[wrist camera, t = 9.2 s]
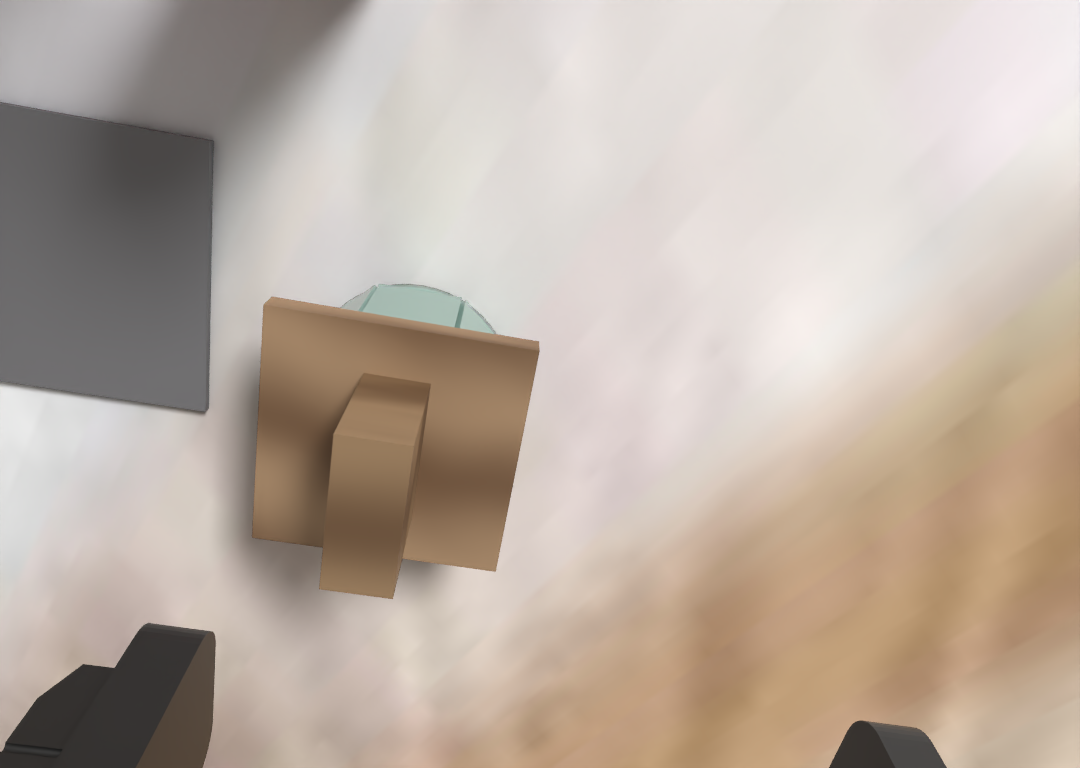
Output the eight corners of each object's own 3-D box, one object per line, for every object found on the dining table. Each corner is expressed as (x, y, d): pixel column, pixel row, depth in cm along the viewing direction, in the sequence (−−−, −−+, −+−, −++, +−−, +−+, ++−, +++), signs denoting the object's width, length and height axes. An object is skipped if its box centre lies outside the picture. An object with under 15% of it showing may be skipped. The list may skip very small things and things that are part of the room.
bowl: (318, 267, 33) (285, 301, 28) (525, 302, 34) (525, 341, 29) (305, 451, 36) (274, 508, 32) (493, 478, 37) (489, 538, 33)
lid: (271, 296, 28) (211, 354, 23) (538, 341, 29) (543, 407, 24) (259, 523, 32) (205, 621, 27) (496, 557, 33) (491, 657, 28)
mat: (-104, 83, 30) (-112, 83, 29) (213, 140, 31) (209, 141, 30) (-66, 366, 34) (-73, 370, 34) (208, 408, 35) (205, 411, 35)
